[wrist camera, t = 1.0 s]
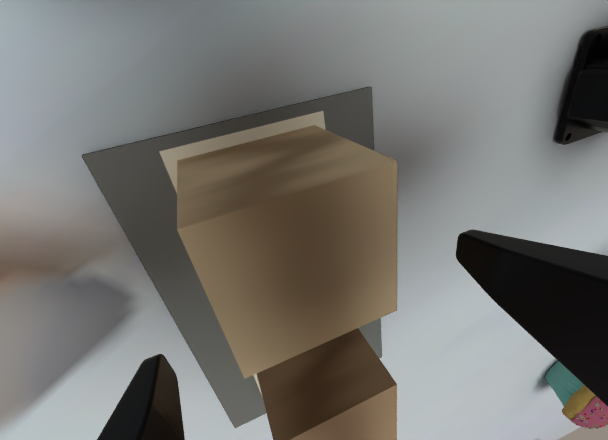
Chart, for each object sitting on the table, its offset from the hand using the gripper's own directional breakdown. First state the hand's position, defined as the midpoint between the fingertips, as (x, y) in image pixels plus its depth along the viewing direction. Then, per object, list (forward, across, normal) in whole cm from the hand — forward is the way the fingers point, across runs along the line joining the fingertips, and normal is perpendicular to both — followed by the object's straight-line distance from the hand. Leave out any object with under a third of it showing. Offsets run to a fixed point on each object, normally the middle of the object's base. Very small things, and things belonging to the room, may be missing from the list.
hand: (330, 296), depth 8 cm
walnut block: (+7, 0, +11) cm, 13 cm away
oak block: (+7, 0, 0) cm, 7 cm away
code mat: (+7, 0, +6) cm, 9 cm away
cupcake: (+8, -34, +38) cm, 51 cm away
